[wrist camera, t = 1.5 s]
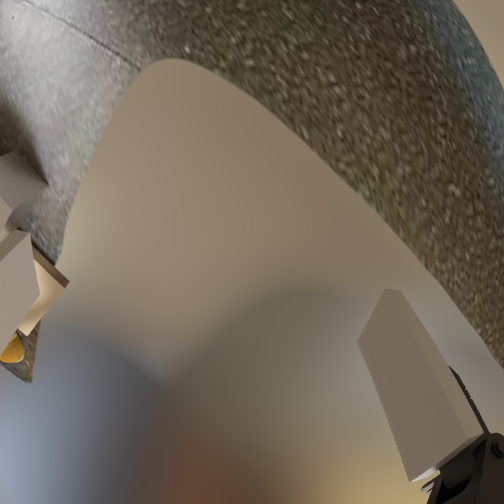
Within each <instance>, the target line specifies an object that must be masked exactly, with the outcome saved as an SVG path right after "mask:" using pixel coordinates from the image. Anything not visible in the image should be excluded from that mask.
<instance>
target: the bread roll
mask: <svg viewBox="0 0 504 504" xmlns="http://www.w3.org/2000/svg"><path fill="white" fill-rule="evenodd" d="M24 352H25V350H24V344H23V342H22V340H21V339H20V337H19V336H18V335H17V333H16V331H15V333H14V335H13V336H12V338H11V339H10V341H9V343H8V344H7V346H6V348H5V349H4V351H3V353H2V355H1V356H0V360H1V361H3V362H7V363H12V362H19V361H21V360H22V359H23V357H24Z"/></svg>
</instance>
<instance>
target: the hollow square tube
mask: <svg viewBox="0 0 504 504" xmlns="http://www.w3.org/2000/svg"><path fill="white" fill-rule="evenodd" d="M48 186H49V185H48V184H47V183H46V182H45V181H44V180H43V179H42V178H41V177H40V175H39V174H38V173H37V172H36V171H35V170H34V169H33V168H32V166H31V165H30V164H29V163H28V162H27V161H26V160H25V158H24V157H23V156H22V155H21V154H20V153H19V151H18V150H15V151H12V152H10V153H8V154H5V155H3V156H1V157H0V243H1V242H2V241H3V240H4V239H5V238H6V237H7V236H8V235H9V234H11V233H12V232H13V231H14V230H16V229H17V228H18V227H19V226H20V225H22V224H23V223H24V222H25V221H26V220H27V218H28V217H29V215H30V213H31V212H32V210H33V209H34V207H35V205H36V204H37V202H38V201H39V199H40V198H41V196H42V195H43V193H44V192H45V190H46V189H47V187H48Z"/></svg>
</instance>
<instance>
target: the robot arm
mask: <svg viewBox="0 0 504 504" xmlns="http://www.w3.org/2000/svg"><path fill="white" fill-rule="evenodd" d="M39 295H40V290H39V285H38V280H37V275H36V269H35V264H34V258H33V251H32V244H31V236H30V232H25V231H19V230H14V231H13V232H12V233H11V234H9V235H8V236H7V237H6V238H5V239H4V240H3V241H2V242H1V243H0V356H1V355H2V353H3V351H4V349H5V348H6V346H7V344H8V343H9V341H10V339H11V338H12V336H13V335H14V333H15V331H16V330H17V328H18V327H19V325H20V324H21V322H22V320H23V319H24V317H25V316H26V314H27V313H28V311H29V310H30V308H31V307H32V305H33V304H34V302H35V301H36V300H37V298H38V297H39ZM357 343H358V345H359V348H360V350H361V352H362V355H363V357H364V360H365V362H366V365H367V367H368V370H369V372H370V375H371V377H372V380H373V382H374V385H375V388H376V390H377V393H378V395H379V398H380V400H381V403H382V406H383V408H384V411H385V414H386V416H387V419H388V422H389V424H390V427H391V430H392V433H393V435H394V438H395V441H396V444H397V447H398V450H399V453H400V456H401V458H402V462H403V465H404V468H405V471H406V474H407V476H408V480H409V482H413V481H417V480H420V479H423V478H426V477H428V476H429V475H431V474H432V473H434V472H435V471H437V470H438V469H439V470H440V473H441V474H440V475H438V476H437V477H436V478H434V479H432V480H431V481H429V482H428V483H426V484H425V485H424V486H423V487H422V489H421V491H424V490H426V489H428V488H429V487H431V486H432V485H433V487H432V488H431V489H429V490H428V491H427V494H430V496H429V499H428V502H427V504H504V436H503V435H501V434H499V433H493V434H490V432H489V431H488V429H487V427H486V425H485V423H484V421H483V419H482V417H481V415H480V413H479V411H478V410H477V407H476V406H475V404H474V402H473V400H472V399H470V397H471V396H470V395H469V393H468V391H467V390H465V386H464V384H463V382H462V380H461V379H460V377H459V375H458V374H457V373H456V372H455V371H454V370H453V369H452V368H451V367H450V366H448V365H447V363H446V362H445V360H444V358H443V356H442V355H441V353H440V351H439V350H438V348H437V346H436V345H435V343H434V342H433V340H432V338H431V337H430V335H429V334H428V332H427V331H426V329H425V327H424V326H423V324H422V323H421V321H420V320H419V318H418V317H417V315H416V313H415V312H414V310H413V309H412V307H411V306H410V304H409V303H408V301H407V300H406V299H405V297H404V296H403V294H402V293H401V291H399V290H391V289H384V291H383V293H382V295H381V297H380V299H379V301H378V303H377V305H376V307H375V309H374V310H373V312H372V314H371V316H370V318H369V320H368V322H367V323H366V325H365V327H364V329H363V331H362V333H361V335H360V336H359V338H358V340H357Z"/></svg>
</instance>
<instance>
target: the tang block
mask: <svg viewBox="0 0 504 504" xmlns="http://www.w3.org/2000/svg"><path fill="white" fill-rule="evenodd" d="M16 230H18V229H16ZM32 251H33V258H34V264H35V269H36V275H37V280H38V285H39V290H40V295H39V297H38V298H37V300H36V301H35V302H34V304H33V305H32V307H31V308H30V310H29V311H28V313H27V314H26V316H25V317H24V319H23V320H22V322H21V324H20V325H19V327H18V329H19V330H21V331H22V332H23V333H24V334H25V335H26V336H28V334H29V333H30V332H31V330H32V329H33V328H34V326H35V325H36V324H37V322H38V321H39V320H40V319H41V317H42V316H43V315H44V313H45V312H46V311H47V310H48V308H49V307H50V306H51V305H52V303H53V302H54V301H55V300H56V298H57V297H58V296H59V295H60V294H61V292H62V291H63V290H64V289H65V287H66V286H67V284H68V283H69V280H67V279H66V278H65V277H64V276H63V275H62V274H61V273H60V272H59V271H58V270H57V269H56V268H55V267H54V266H53V265H52V264H51V263H50V262H49V261H48V260H47V259H46V258H44V257H43V256H42V255H41V254H40V253H39V251H38V250H37V249H36V248H35V247H34V246H33V245H32Z"/></svg>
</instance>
